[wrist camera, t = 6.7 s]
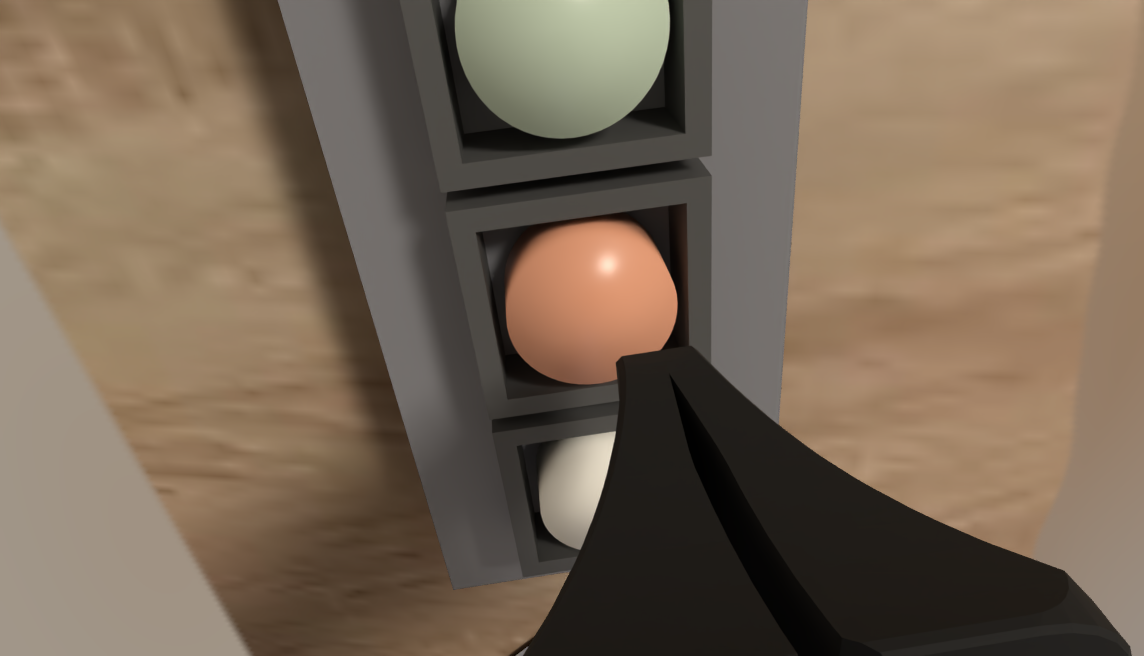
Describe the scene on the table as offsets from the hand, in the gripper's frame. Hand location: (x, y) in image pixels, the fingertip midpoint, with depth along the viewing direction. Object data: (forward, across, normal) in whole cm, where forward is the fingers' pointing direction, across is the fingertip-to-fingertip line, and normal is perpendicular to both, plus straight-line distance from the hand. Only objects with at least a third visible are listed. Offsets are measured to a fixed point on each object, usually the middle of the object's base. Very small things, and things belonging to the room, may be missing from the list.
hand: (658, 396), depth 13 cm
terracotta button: (+5, +1, 0) cm, 5 cm away
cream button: (+5, +1, +6) cm, 7 cm away
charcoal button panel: (+8, +1, 0) cm, 8 cm away
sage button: (+5, +1, -6) cm, 7 cm away
